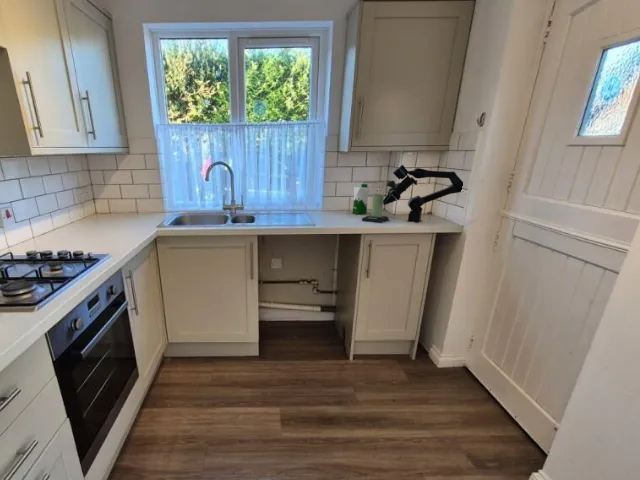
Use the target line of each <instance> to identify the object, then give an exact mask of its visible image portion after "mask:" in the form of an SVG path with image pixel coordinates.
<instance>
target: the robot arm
mask: <svg viewBox="0 0 640 480" xmlns="http://www.w3.org/2000/svg"><path fill="white" fill-rule="evenodd" d="M392 174H393V175H394V176H395V177H396V178H397V179H398V180H401V181H400V182H397V183H396V181H395V180H387V182H386V184H385V186H387V187H388V190H387V193H386V196H384V199H383V206H386V205H389V204H392V203H393V202H394V203H395V202H397V201H399V200H400V199H401V196H402V194H403V193H405V192H406V191H407V190H408V189H409V188H410V187H411V186H413V184H414V185H415V186H417V185H418V180H417V179H426V178H435V179H449V181H450V183H451V184H450V185H448V186H447V187H446V188H443V189H440V190H438V191H435V192H431V193H429V194H427V195H424V196H420V195H416V196H414V197H411V198H410V199H408V201H407V207H408V208H409V209H410V210H409V213H408V214H407V215H408V216H407V222H413V223H420V222H422V221H423V220H422V213H423V207H422V206H423V205H425V204H427V203H430V202H432V201H435V200H438V199H441V198H443V197H446V196H448V195H451V194H458V193H459V194H460V193H462V192H461V190H462V186H463V182H464V181H463V180H462V179H461V178H460V177H459V176H458V175H457V173H456V172H455V171H451V170H450V171H442V170H429V169H425V168H420V167H416V168H414V169H413V170H408V169H407V168H406V167H405V165H404V164H401V165H400V166H399V167H397V168H396V169H395V170H394V171H393V172H392Z"/></svg>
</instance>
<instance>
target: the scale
mask: <svg viewBox="0 0 640 480" xmlns="http://www.w3.org/2000/svg"><path fill="white" fill-rule="evenodd" d="M389 219H390V218H389V216H388V215H382V217H372V216H371V214H370V215H366V216H363V217H361V221H362V222H369V223H377V224H382V223H385V222H387V221H389Z"/></svg>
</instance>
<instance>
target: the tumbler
mask: <svg viewBox="0 0 640 480" xmlns="http://www.w3.org/2000/svg"><path fill="white" fill-rule="evenodd" d="M384 199H385V195H384V194H373V195H372V202H371V212H370V213H371V214H370V215H371V216H372V217H382V216H383V209H384V208H383V207H384V204H383V200H384Z"/></svg>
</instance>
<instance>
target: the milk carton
mask: <svg viewBox="0 0 640 480" xmlns="http://www.w3.org/2000/svg"><path fill="white" fill-rule="evenodd" d="M369 192H370V187H368V183H361V186H356V187H353V204H352V214H353V215H357V216H359V215H367V214H368V200H369V199H368V198H369Z"/></svg>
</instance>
